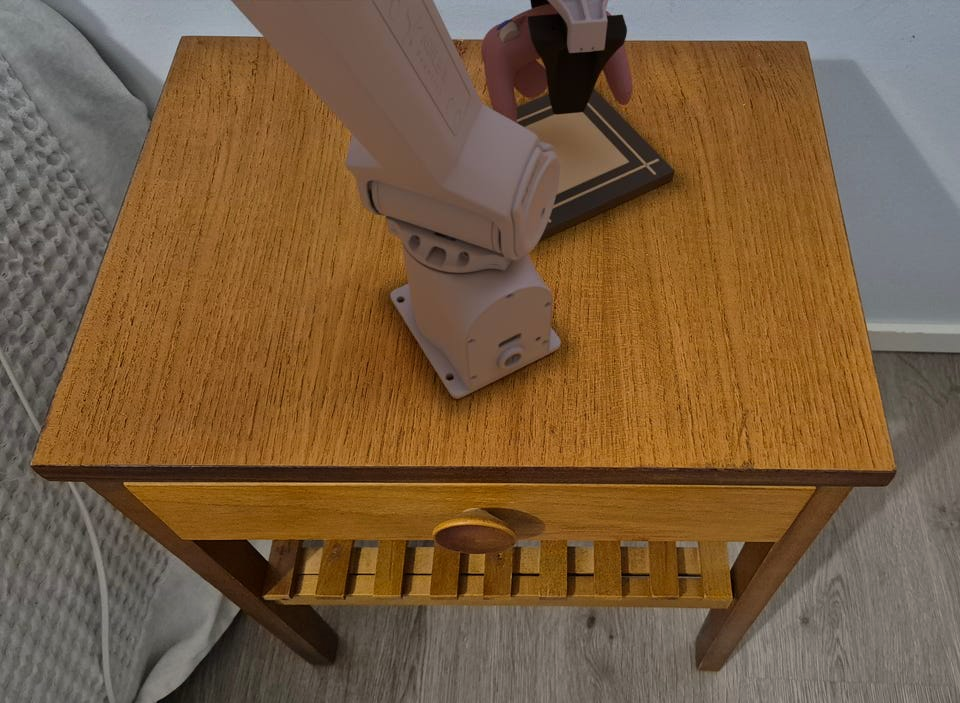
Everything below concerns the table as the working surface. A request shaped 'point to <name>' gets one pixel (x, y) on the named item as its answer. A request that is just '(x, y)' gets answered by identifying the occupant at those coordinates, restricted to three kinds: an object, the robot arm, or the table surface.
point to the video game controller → (533, 64)
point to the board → (593, 159)
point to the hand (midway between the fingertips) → (560, 75)
